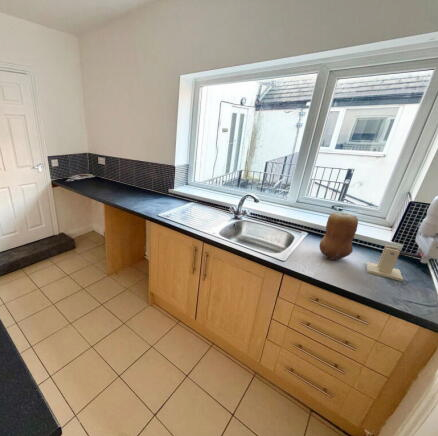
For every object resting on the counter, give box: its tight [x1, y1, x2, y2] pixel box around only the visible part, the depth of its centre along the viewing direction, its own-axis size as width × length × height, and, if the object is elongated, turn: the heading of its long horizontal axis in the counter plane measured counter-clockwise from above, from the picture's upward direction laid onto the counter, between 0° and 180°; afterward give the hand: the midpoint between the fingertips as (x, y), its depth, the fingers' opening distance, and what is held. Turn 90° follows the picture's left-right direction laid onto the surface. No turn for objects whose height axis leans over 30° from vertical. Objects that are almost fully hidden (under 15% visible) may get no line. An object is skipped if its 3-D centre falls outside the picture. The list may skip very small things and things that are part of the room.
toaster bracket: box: [365, 244, 404, 282], centre depth 113 cm, size 12×10×13 cm
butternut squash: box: [319, 212, 359, 261], centre depth 122 cm, size 14×13×25 cm
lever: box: [390, 248, 423, 259], centre depth 109 cm, size 12×5×2 cm, turn 53°
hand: (421, 259), depth 106 cm, fingers closed on lever, 5 cm apart
